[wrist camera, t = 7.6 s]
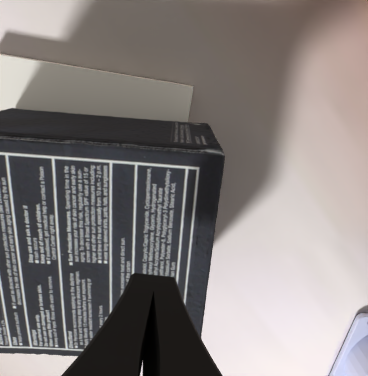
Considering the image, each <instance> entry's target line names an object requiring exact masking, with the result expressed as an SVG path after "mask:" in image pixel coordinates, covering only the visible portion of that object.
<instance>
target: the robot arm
mask: <svg viewBox="0 0 368 376" xmlns="http://www.w3.org/2000/svg"><path fill="white" fill-rule="evenodd" d="M142 361H143V376H222V374H221V373H220V371H219V369H218V368H217V366H216V364H215V363H214V361H213V359H212V358H211V356H210V354H209V352H208V351H207V349H206V347H205V345H204V343H203V342H202V340H201V338H200V336H199V334H198V332H197V330H196V328H195V326H194V324H193V321H192V319H191V317H190V315H189V313H188V311H187V308H186V306H185V303H184V301H183V299H182V296H181V293H180V290H179V287H178V284H177V281H176V279H175V278H174V277H169V276H159V275H150V274H141V273H134V274H132V275H130V278H129V281H128V283H127V286H126V288H125V290H124V292H123V293H122V295H121V297H120V299H119V300H118V302H117V304H116V305H115V307H114V308H113V310H112V311H111V313H110V315H109V316H108V318H107V319H106V321H105V322H104V324H103V325H102V326H101V328H100V329H99V330H98V332H97V333H96V334H95V336H94V337H93V338H92V340H91V341H90V342H89V344H88V345H87V346H86V348H85V349H84V350H83V351H82V352H81V354H80V355H79V356H78V357H77V359H76V360H75V361H74V362H73V363H72V364H71V365H70V367H69V368H68V369H67V370H66V371H65V372H64V373H63V375H62V376H140V372H141V367H142ZM329 376H368V314H367V313H361V314H358V315H357V316H356V318H355V320H354V322H353V324H352V327H351V329H350V331H349V333H348V335H347V338H346V340H345V342H344V344H343V346H342V349H341V351H340V353H339V355H338V357H337V360H336V362H335V364H334V366H333V369H332V371H331V373H330V375H329Z"/></svg>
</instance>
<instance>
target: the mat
mask: <svg viewBox="0 0 368 376" xmlns="http://www.w3.org/2000/svg"><path fill="white" fill-rule="evenodd" d="M193 88H194V87H193V86H191V85H185V84H179V83H173V82H167V81H161V80H156V79H150V78H144V77H138V76H132V75H126V74H120V73H114V72H108V71H102V70H96V69H90V68H84V67H78V66H72V65H66V64H60V63H54V62H48V61H42V60H36V59H30V58H24V57H18V56H12V55H6V54H0V111H1V110H6V109H10V108H17V109H24V110H35V111H49V112H64V113H73V114H87V115H99V116H113V117H124V118H136V119H149V120H162V121H178V122H188V118H189V112H190V106H191V100H192V94H193Z"/></svg>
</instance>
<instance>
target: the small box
mask: <svg viewBox="0 0 368 376" xmlns="http://www.w3.org/2000/svg"><path fill="white" fill-rule="evenodd" d="M224 160H225V155H224V153H223V150H222V148H221V146H220V144H219V143H218V141H217V140H216V138H215V136H214V134H213V132H212V130H211V127H210V126H209V125H208V124H206V123H189V122H178V121H162V120H149V119H136V118H124V117H113V116H99V115H87V114H73V113H64V112H49V111H35V110H24V109H17V108H10V109H6V110H1V111H0V353H13V354H14V353H24V354H48V355H62V356H79V355H80V354H81V352H82V351H83V350H84V349H85V348H86V346H87V345H88V344H89V342H90V341H91V340H92V338H93V337H94V336H95V334H96V333H97V332H98V330H99V329H100V328H101V326H102V325H103V324H104V322H105V321H106V319H107V318H108V316H109V315H110V313H111V311H112V310H113V308H114V307H115V305H116V304H117V302H118V300H119V299H120V297H121V295H122V293H123V292H124V290H125V288H126V286H127V283H128V281H129V278H130V275H132V274H134V273H141V274H150V275H159V276H169V277H174V278H175V279H176V281H177V284H178V287H179V290H180V293H181V296H182V299H183V301H184V303H185V306H186V308H187V311H188V313H189V315H190V317H191V319H192V321H193V324H194V326H195V328H196V330H197V332H198V334H199V336H200V338H201V332H202V325H203V317H204V310H205V301H206V292H207V285H208V279H209V272H210V265H211V256H212V248H213V241H214V232H215V224H216V217H217V210H218V202H219V195H220V189H221V183H222V176H223V168H224Z"/></svg>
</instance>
